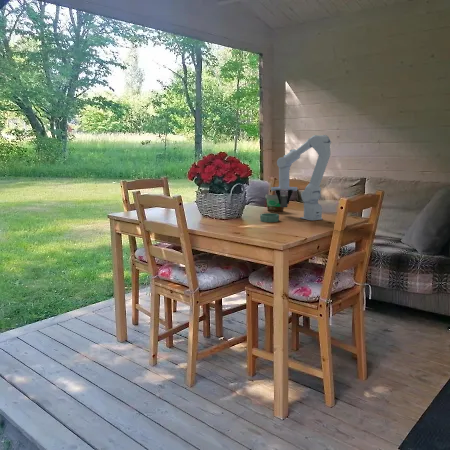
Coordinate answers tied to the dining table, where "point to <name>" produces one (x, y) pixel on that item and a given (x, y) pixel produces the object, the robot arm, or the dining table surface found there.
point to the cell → (283, 201)
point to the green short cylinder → (269, 217)
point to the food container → (273, 203)
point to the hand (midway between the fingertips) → (283, 203)
